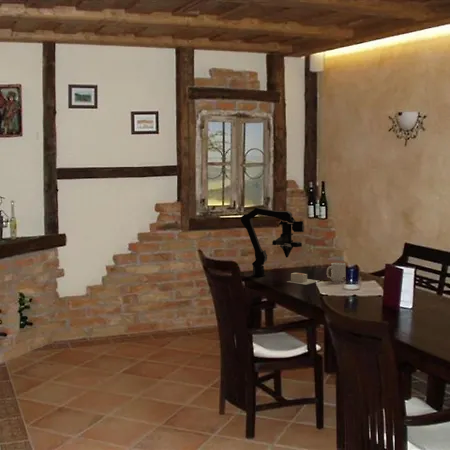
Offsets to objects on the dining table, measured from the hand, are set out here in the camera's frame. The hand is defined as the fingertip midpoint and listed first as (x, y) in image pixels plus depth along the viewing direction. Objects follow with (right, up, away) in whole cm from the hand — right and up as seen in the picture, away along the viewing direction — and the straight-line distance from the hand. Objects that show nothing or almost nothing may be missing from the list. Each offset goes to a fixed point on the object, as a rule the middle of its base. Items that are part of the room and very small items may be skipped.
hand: (286, 257), depth 431 cm
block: (+3, -11, -10) cm, 15 cm away
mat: (+8, -14, -15) cm, 22 cm away
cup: (+27, -13, -13) cm, 33 cm away
